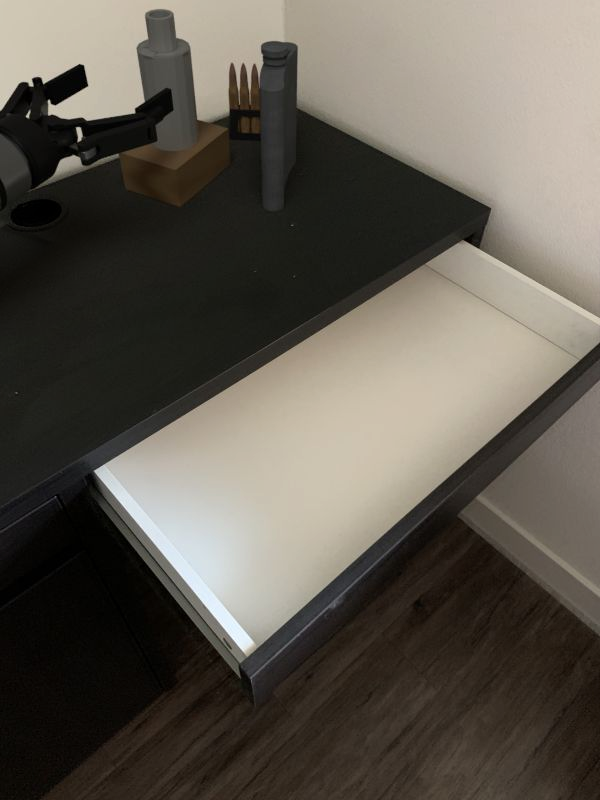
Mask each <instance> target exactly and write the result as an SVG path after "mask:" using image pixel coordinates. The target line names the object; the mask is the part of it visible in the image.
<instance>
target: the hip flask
mask: <svg viewBox="0 0 600 800" xmlns="http://www.w3.org/2000/svg"><path fill="white" fill-rule="evenodd" d="M260 53H261V55H262V66H261V67H260V72H259V88H260V127H261V141H260V158H261V162H260V164H261V165H260V167H261V200H262V201H261V202H262V203H261V204H262V208H263V209H264V210H265V211H267V212H270V213H271V212H272V213H274V212H279V211H281V210H283V209H284V207H285V189H286V184H287V181H288V178H289V175H290V173H291V171H292V169H294V168H293V167H295V165H296V162H297V121H298V120H297V116H298V115H297V114H298V113H297V111H298V110H297V109H298V108H297V107H298V60H299V57H298V55H299V54H298V53H299V46H298V45H297V44H296V43H295V42H289V41H281V40H280V41H279V40H270V41H265V42H263V43H262V44H261V45H260Z"/></svg>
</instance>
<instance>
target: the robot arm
mask: <svg viewBox="0 0 600 800" xmlns="http://www.w3.org/2000/svg"><path fill="white" fill-rule="evenodd" d="M31 82H32V86H31V85H30V83H29V82H28V81H21V82H19V83H18V84H17V86H16V88H15V89H14V90H13V92H12V93H11V95H10V96H9V98H8V100H7V101H6V102H5V104H4V105H3V107H2V108H1V109H0V212H2V211H3V210H5V208H8V207H9V206H10V205H11V204H13V203H15V202H16V201H18V200H19V199H20V198H22V197H24V196H25V195H27V194H28V193H30V191H33V190H35V189H36V188H38V187H39V186H40V185H42V184H44V183H46V181H48V180H49V179H51V178H53V176H54V175H55V174H56V172H57V169H58V167H59V164H60V162H61V161H62V160H64V159H67V158H70V157H73V156H75V157H77V158H79V159H80V164H81V165H82V166H83V167H89V166H91V165H93V164H96V163H97V162H98V161H101V160H103V159H106V158H109V157H112V156H115V155H119V153H122V152H125V151H129V150H132V149H135V148H138V147H142V146H145V145H148V144H151V143H155V142H157V141H158V138H157V132H156V125H157V124H158V123H160V122H161V121H162V120H163V119H164V117H165V116H167V115H168V114H169V113H171V112H172V111H174V108H173V100H172V91H171V89H169V88H165V89H163V90H162V91H160V92H159V93H157V94H156V95H154V96H153V97H151V98H150V99H148V100H147V101H145V100H144V101H143V102H142V103H140V105H138V106H136V107H134V113H127V114H120V115H115V116H108V117H102V118H96V119H90V120H87V119H86V118H85V117H81V116H79V117H74V118H69V119H68V118H63V117H60V116H58V115H56V114H49V103H50V105H52V106H57V105H59V104H61V103H62V102H64V101H66V100H68V99H69V98H71V97H73V96H74V95H76V94H78V93H80V92H81V91H83V90H84V89H86V88H88V87H89V81H88V77H87V73H86V67H85V65H84V64H81V63H79V64H77V65H75V66H73V67H71V68H69V69H67V70H66V71H64V72H62V73H60V74H59V75H57V76H55V77H53V78H51V79H50V80H48V81H46V82H44V81H43V78H42V77H41V76H34V77H32V78H31ZM27 115H28V117H27ZM77 128H80V131H81V139H80V140H79V134H78V130H77Z"/></svg>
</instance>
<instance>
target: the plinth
mask: <svg viewBox="0 0 600 800" xmlns="http://www.w3.org/2000/svg"><path fill="white" fill-rule="evenodd" d="M197 121H198V132H199V140H198V143H197V144H196V145H195V146H193V147H192V148H189V149H187V150H183V151H164V150H160V149H158V148H156V147H154V146H153V144H152V143H151V144H148V145H145V146H142V147H138V148H135V149H132V150H129V151H125V152H122V153H119V154H118V159H119V163H120V168H121V173H122V178H123V184H124V189H125V190H127V191H130V192H132V193H136V194H140V195H142V196H145V197H148V198H150V199H154V200H157V201H160V202H163V203H166V204H168V205H172V206H175V207H178V208H181V207H183V206H184V205H185V204H186V203H188V202H189V201H190V200H191V199H192V198H193V197H194V196H195V195H197V194H198V193H199V192H200V191H202V190H203V189H204V188H205V187H206V186H208V185H209V184H210V183H211V182H212V181H214V179H216V178H217V177H218V176H219V175H220V174H222V173H223V172H224V171H225V170H226V169H227V168H229V166H231V151H230V150H231V149H230V131H229V127H226V126H221V125H217V124H215V123H210V122H207V121H203V120H200V119H197Z"/></svg>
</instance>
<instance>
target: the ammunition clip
mask: <svg viewBox="0 0 600 800" xmlns="http://www.w3.org/2000/svg"><path fill="white" fill-rule="evenodd" d="M259 78H260V76H259V71H258V67H257V64H256V63H253V64H252V67H251V73H250V88H249V79H248V71H247V67H246V65H245V63H244V62H242V63H241V66H240V71H239V88H238V80H237V79H238V78H237V71H236V68H235V64H234V63H233V62H230V65H229V69H228V107H229V108H228V109H229V110H228V111H229V113H228V114H229V115H228V116H229V121H228V122H229V140H235V141H236V140H237V141H257V142H258V141H259V142H261V127H260V87H259Z"/></svg>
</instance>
